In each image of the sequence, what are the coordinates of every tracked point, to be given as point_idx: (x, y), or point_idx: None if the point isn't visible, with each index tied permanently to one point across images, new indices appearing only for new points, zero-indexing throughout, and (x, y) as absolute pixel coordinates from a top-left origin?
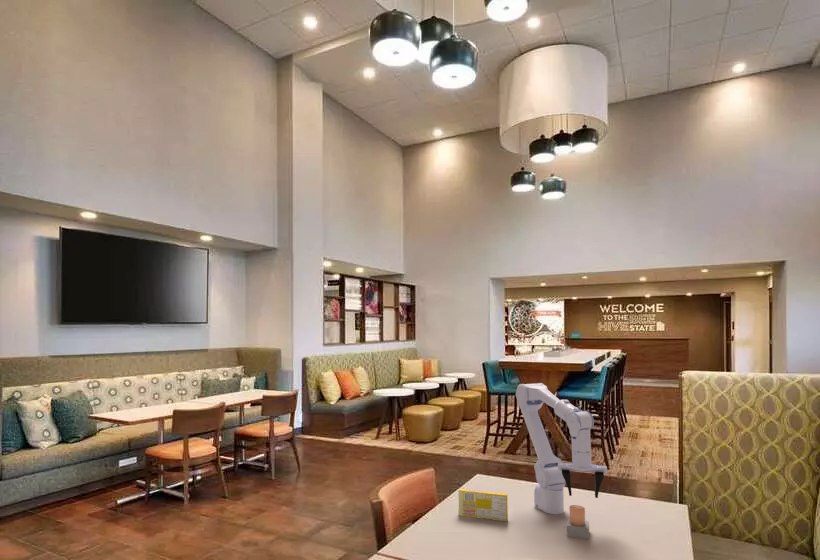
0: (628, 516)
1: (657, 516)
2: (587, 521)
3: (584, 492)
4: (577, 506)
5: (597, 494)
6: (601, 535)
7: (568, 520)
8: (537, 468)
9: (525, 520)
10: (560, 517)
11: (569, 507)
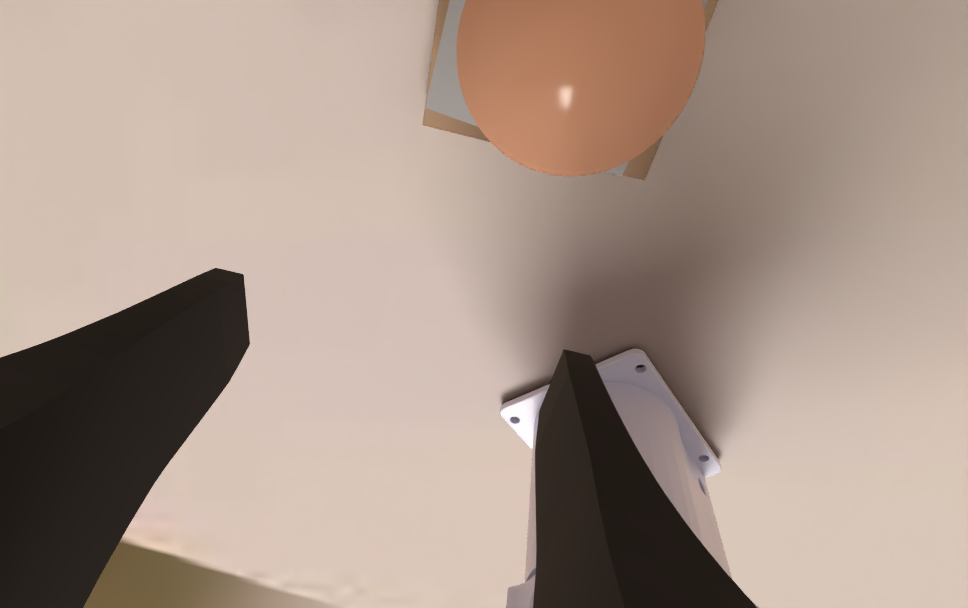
0: None
1: None
2: (443, 96)
3: (357, 602)
4: (552, 114)
5: (182, 286)
6: (351, 92)
7: None
8: None
9: (858, 344)
10: None
11: (692, 84)
